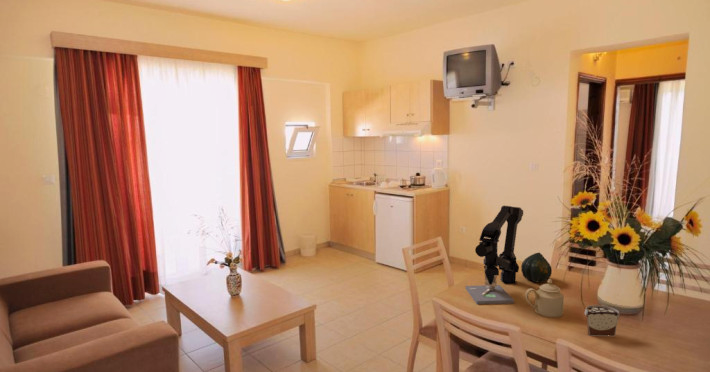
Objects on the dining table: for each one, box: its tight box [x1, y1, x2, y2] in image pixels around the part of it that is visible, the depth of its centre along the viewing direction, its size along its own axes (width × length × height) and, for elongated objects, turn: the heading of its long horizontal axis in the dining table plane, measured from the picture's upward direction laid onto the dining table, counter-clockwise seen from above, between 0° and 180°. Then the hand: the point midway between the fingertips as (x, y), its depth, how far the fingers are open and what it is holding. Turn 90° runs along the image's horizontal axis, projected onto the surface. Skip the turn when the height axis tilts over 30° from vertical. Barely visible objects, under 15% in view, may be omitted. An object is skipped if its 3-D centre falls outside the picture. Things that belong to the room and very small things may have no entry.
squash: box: [520, 252, 553, 283], centre depth 218 cm, size 14×15×15 cm
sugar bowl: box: [524, 278, 565, 318], centre depth 178 cm, size 15×11×15 cm
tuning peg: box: [482, 274, 498, 295], centre depth 200 cm, size 12×5×7 cm, turn 141°
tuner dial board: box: [465, 284, 515, 305], centre depth 200 cm, size 17×19×2 cm
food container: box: [584, 304, 621, 337], centre depth 161 cm, size 12×6×10 cm, turn 84°
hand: (490, 283), depth 203 cm, fingers closed on tuning peg, 3 cm apart
